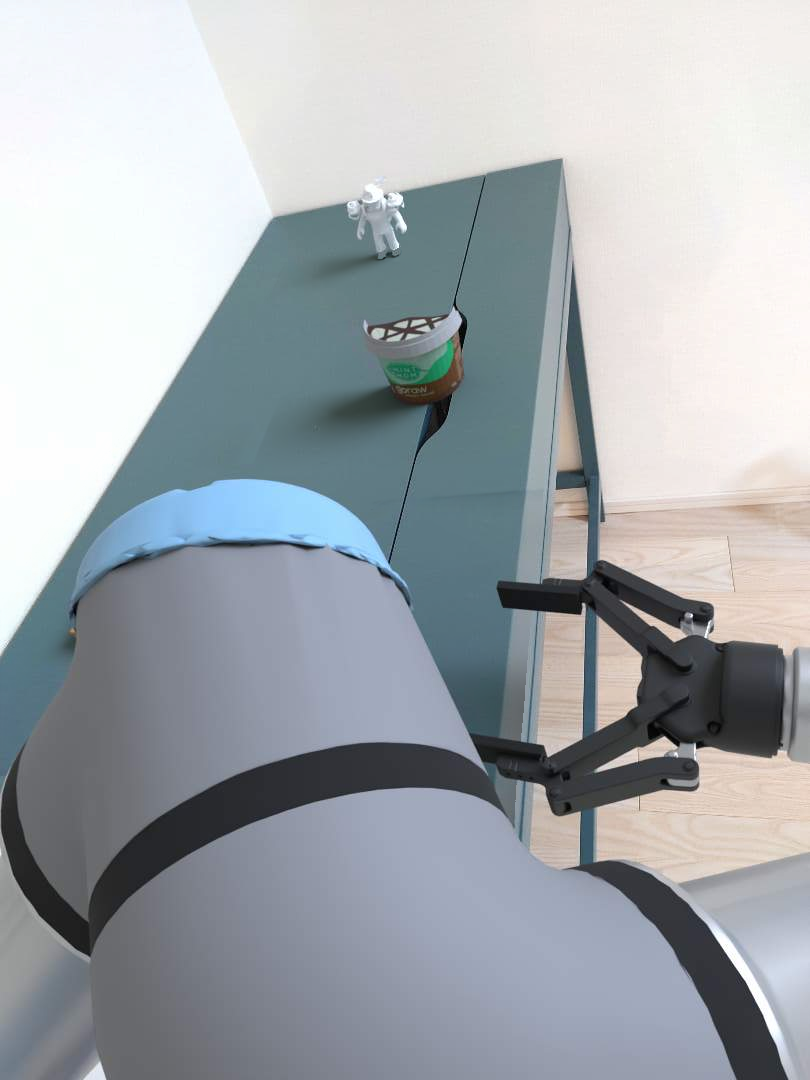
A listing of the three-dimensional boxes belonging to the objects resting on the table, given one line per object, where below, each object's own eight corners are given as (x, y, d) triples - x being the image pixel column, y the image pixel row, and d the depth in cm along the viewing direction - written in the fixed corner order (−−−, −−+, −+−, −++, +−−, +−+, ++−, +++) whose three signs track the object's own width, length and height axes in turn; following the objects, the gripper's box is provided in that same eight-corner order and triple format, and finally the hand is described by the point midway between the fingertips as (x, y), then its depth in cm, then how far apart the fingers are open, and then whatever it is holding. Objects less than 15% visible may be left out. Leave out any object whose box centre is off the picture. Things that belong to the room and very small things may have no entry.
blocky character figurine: (417, 242, 128) (397, 168, 120) (414, 255, 126) (393, 181, 117) (364, 252, 131) (341, 180, 122) (360, 265, 128) (335, 193, 120)
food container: (374, 415, 101) (349, 350, 94) (383, 384, 105) (360, 320, 98) (470, 405, 97) (451, 336, 90) (475, 373, 101) (458, 305, 94)
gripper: (774, 913, 49) (447, 841, 57) (785, 588, 63) (522, 569, 72) (782, 868, 44) (420, 796, 52) (792, 524, 58) (507, 512, 67)
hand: (479, 664), depth 62 cm, fingers open, 13 cm apart
